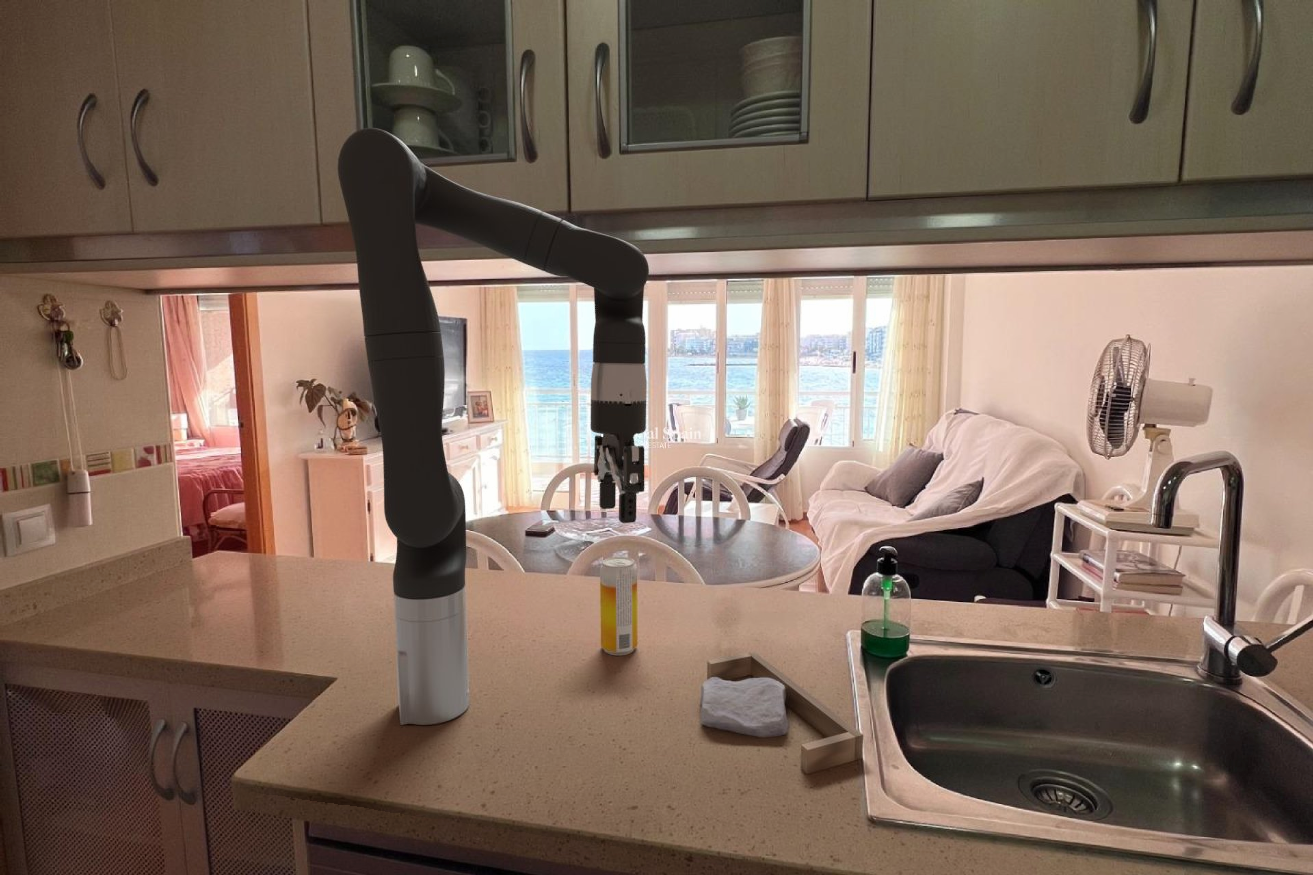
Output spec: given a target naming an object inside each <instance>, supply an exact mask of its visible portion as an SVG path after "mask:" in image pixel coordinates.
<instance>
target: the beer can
mask: <svg viewBox="0 0 1313 875" xmlns="http://www.w3.org/2000/svg"><path fill="white" fill-rule="evenodd" d="M599 577H600V579H599V580H600V581H599V584H600V585H599V587H600V590H599V592H600V594H599V595H600V597H599V599H600V602H599V603H600V606H599V607H600V646H601V649H603V650H604V652H605V653H606V654H608V655H612V656H626V655H629V654H632V653H633V652H634V650H635V649H636V648H637V647H638V567H637V564H636V562H635V560H634V559H633V558H631V557H625V556H614V557H608V558H605V559H604V560H602V564H601V565H600V568H599Z"/></svg>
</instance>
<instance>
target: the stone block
mask: <svg viewBox="0 0 1313 875" xmlns="http://www.w3.org/2000/svg"><path fill="white" fill-rule="evenodd" d="M700 689H701V690H700V697H699V698H700V699H699V700H700V704H701V709H700V721H701V725H703V726H706V727H708V728H716V729H719V730H723V731H724V730H725V731H729V732H734V733H737V734H742V735H748V736H754V737H759V738H770V737H778V736H784V735H786V734H788V729H789V726H790V724H789V721H788V718H787V711H786V710H787V709H786V703H785V698H786V693H785V691H786V690H785V686H784V685H783V684H781V683H780V682H779V681H776V680H774V679H771V678H754V677H752V678H751V677H748V678H745V679H742V680H739V681H732V680H722V679H720V678H718V677H712V678H709V679H708V680H707V679H706V680H704V682H703V683H702V685H701V688H700Z"/></svg>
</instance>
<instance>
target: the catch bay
mask: <svg viewBox="0 0 1313 875" xmlns="http://www.w3.org/2000/svg"><path fill="white" fill-rule="evenodd" d="M706 666H707V667H706V670H707V671H706V672H707V673H706V680H708V679H709V678H712V677H718V678H720V679H722V680H725V681H729V680H732V679H733V680H734V679H737V678H741V677H746V676H752V678H771V679H774V680H776V681H779V682H780V683H781V684H783V685H784V686H785V690H786V691H785V693H786V698H785V705H787V706H788V707H789V708H791V710H793V711H794V712H795V713H796V714H798V715H799V716H800V717H802V719H804V720H805V721H806V722H807V723H808V724H810V725H811V726H812V727H814V728H815V729H816V730H817V731H818V732H820V733H821V734H822V735H823V736H824V738H821V739H818V740H813V741H810V742H806V743H803V744H800V745H801V746H800V770H802V771H803V773H804V774H806V775H809V774H813V773H816V772H819V771H823V770H826V769H830V768H833V767H837V766H840V765H843V764H847V763H850V762H853V761H857V760H861V759H863V754H864V752H863V750H864V734H863V733H862V732H861V731H859V730H858V729H856V728H855V727H854V726H853V725H851V724H850V723H848V722H847V721H846V720H844V719H843V718H842V717H841V716H839V715H838V714H837V713H835V712H834V711H833V710H831V709H830V708H829V707H827V706H826V705H825V704H823V702H821V701H819V700H818V698H815V697H814V696H813V695H812V694H810V693H809V692H808V691H806V690H805V689H803V687H801V686H800V685H798V684H797V682H795V681H793V680H792V679H791V678H789V677H788V676H787V675H785V674H784V673H783V672H782V671H780V670H779V669H777V668H776V667H775V666H774V665H772V664H771V663H770V662H768V661H767V660H766V659H764V658H763V657H762V656H760V654H758V653H756V652H755V651H750V652H745V653H739V654H734V655H729V656H724V657H719V658H715V659H713V658H712V659H710V660H707V663H706Z"/></svg>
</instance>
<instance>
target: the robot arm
mask: <svg viewBox="0 0 1313 875" xmlns="http://www.w3.org/2000/svg"><path fill="white" fill-rule="evenodd" d="M337 176H338V181H339V184H340V189H341V194H342V197H343V198H342V199H343V200H344V205H345V208H346V213H347V218H348V221H349V225H350V229H351V235H352V240H353V244H354V249H355V256H356V264H357V268H356V269H357V279H358V291H359V298H360V299H359V300H360V307H361V315H362V316H361V317H362V324H363V325H362V326H363V336H364V346H365V352H366V358H367V366H368V371H369V378H370V383H371V389H372V395H373V396H372V397H373V402H374V408H375V413H376V417H377V422H378V426H379V433H380V438H381V443H382V458H383V460H382V463H383V467H382V468H383V513H384V518H385V521H386V524H387V526H388V528H389V530H390V531H391V532H392V534H393V536H395V537H396V555H395V556H396V557H395V563H394V564H395V565H394V567H393V568H394V569H393V573H392V583H393V584H392V586H393V587H392V588H393V598H394V599H393V601H394V603H393V604H394V622H395V623H394V624H395V626H394V627H395V654H396V655H395V656H396V660H395V661H396V677H397V679H396V680H397V696H398V697H397V698H398V701H397V702H398V710H399V711H398V712H399V724H400V725H402V726H403V725H407V724H410V725H411V724H413V725H417V726H418V725H419V726H427V725H428V726H429V725H436V724H441V723H445V722H448V721H451V720H453V719H455V718H457V717H459V716H461V715H462V714H463V713H464V712H466V711H467V709H468V708H469V706H470V685H469V684H470V683H469V682H470V680H469V679H470V678H469V676H470V675H469V656H468V654H469V651H468V625H467V623H468V622H467V595H466V594H467V592H466V566H467V526H466V525H467V524H466V523H467V520H466V519H467V516H466V498H465V494H464V490H463V488H462V484H460V482H459V481H458V480H457V478H456V477H455V476H454V475H453V474H451V473H449V471H448V467H447V466H448V464H447V461H446V455H445V448H444V442H443V415H444V414H443V413H444V412H443V411H444V404H445V403H444V402H445V400H444V399H445V385H446V384H445V381H446V380H445V378H446V377H445V376H446V375H445V373H446V371H445V370H446V369H445V355H444V347H443V346H444V345H443V338H442V333H441V332H442V329H441V324H440V319H439V315H438V311H437V307H436V303H435V300H434V297H433V293H432V290H431V287H430V284H429V281H428V278H427V276H426V272H425V270H424V266H423V263H422V260H421V256H420V252H419V251H420V250H419V248H418V246H419V245H418V240H417V239H418V238H417V231H416V225H420V226H423V227H424V226H425V227H429V228H433V229H435V230H439V231H443V232H447V233H450V234H452V235H454V236H455V235H456V236H457V237H458V236H459V237H460V238H464V239H466V240H468V241H472V242H474V243H476V244H478V245H481V246H482V247H485V248H487V249H490V250H492V251H494V252H497V253H499V254H500V255H503V256H506V257H508V258H509V259H513V260H515V261H518V262H519V263H522V264H525V265H527V266H529V267H533V268H535V269H537V270H540V271H542V272H545V273H547V274H549V275H553V276H556V277H563V278H565V277H567V278H570V279H572V280H574V281H576V282H579V283H583V284H584V285H587V286H589V287H591V288H593V296H594V297H593V301H594V320H595V323H594V329H593V340H592V343H593V344H592V371H591V378H590V430H591V431H592V432H594V433H595V434H596V435H595V436H594V459H593V461H594V462H593V465H594V466H593V475H594V476H596V478H597V481H598V483H599V497H598V498H599V502H598V503H599V504H598V505H599V506H598V507H600V508H601V509H602V510H611V509H615V507H616V501H617V500H616V497H617V496H616V495H617V494H616V493H617V492H616V491H617V488H618V493H619V494H618V521H619V522H621V523H622V524H631V523H635V522H636V521H637V495H638V494H640V493H645V492H644V491H645V447H644V445H635V438H634V437H635V435H636V434H638V435H639V434H643V433H644V432H646V430H647V394H648V393H647V388H648V385H647V384H648V383H647V382H648V381H647V372H646V330H645V329H646V328H645V325H644V322H643V314H644V293H645V285H646V284H647V281H648V279H649V274H650V267H649V262H648V260H647V257H646V256H645V254H644V253H643V252H642V251H641V249H639V248H638V247H637V246H635V245H634V244H632V243H629V242H628V241H625V240H623V239H621V238H618V237H615V236H611V235H608V234H604V233H603V232H598V231H594V230H592V229H591V230H590V229H587V228H582V227H579V226H577V225H575V224H573V223H571V222H568V221H567V220H565V219H564V220H563V219H562V218H560V217H557V216H555V215H553V214H550V213H547V212H545V211H542V210H540V209H537V208H534V207H532V206H530V205H526V204H523V203H521V202H517V201H513V200H509V199H505V198H501V197H496V196H493V195H489V194H486V193H483V192H480V191H479V192H478V191H476V190H474V189H471V188H467V187H465V186H463V185H461V184H459V183H457V182H454V181H453V180H451V179H448V178H446V177H445V176H443V175H441V174H440V173H438V172H437V171H435V170H433V169H431V168H430V167H428V166H426V165H425V164H423V163H422V162H421V161H420V159H418V157H417V156H416V155H415V154H414V152H413V151H412V149H410V148H409V147H408V146H407V145H406V144H405V143H404V142H403V140H401V139H399V138H398V137H397V136H395V135H393V134H392V133H391V132H388V131H386V130H383V129H380V128H377V127H365V128H362V129H361V128H360V129H359V130H356V131H354V132H353V133H352V134H351V135H349V136H348V137H347V138H346V139H345V141H344V142H343V144H342V147H341V149H340V151H339V154H338V158H337ZM616 486H617V487H616Z"/></svg>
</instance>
